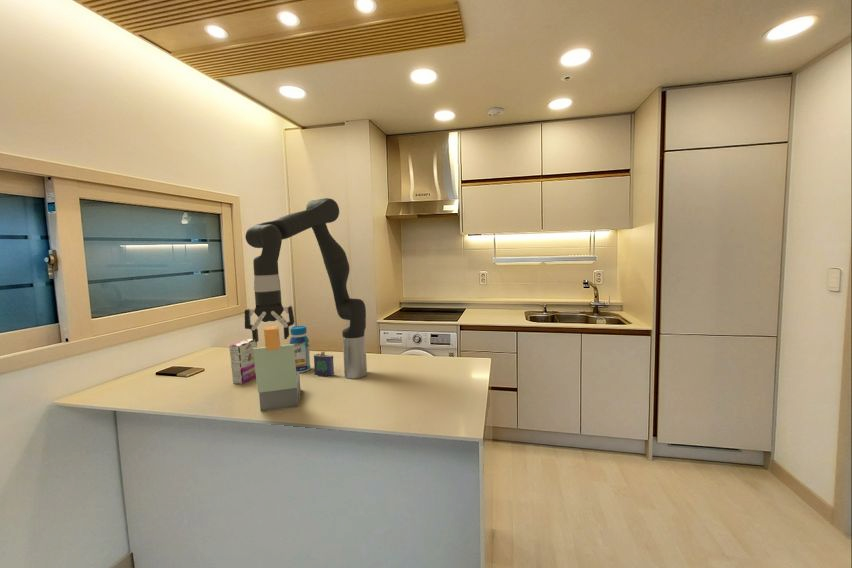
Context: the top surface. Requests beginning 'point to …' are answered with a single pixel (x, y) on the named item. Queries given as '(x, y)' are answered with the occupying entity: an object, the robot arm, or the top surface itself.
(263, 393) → the tub
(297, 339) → the beverage bottle
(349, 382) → the top surface
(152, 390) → the top surface
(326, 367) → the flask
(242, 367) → the candy bar box
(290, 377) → the lid
